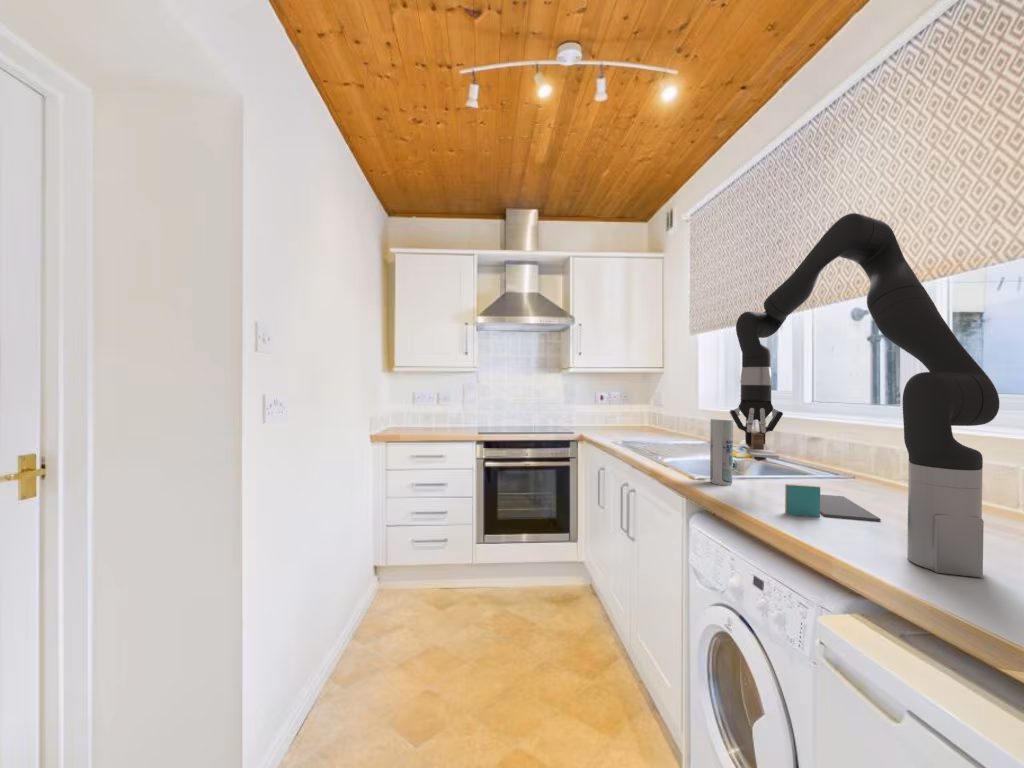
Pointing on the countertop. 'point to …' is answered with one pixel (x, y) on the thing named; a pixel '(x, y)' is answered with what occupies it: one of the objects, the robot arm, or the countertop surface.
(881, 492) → the countertop surface
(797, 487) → the tile
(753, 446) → the turner
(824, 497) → the mat
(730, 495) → the countertop surface
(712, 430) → the spray can
